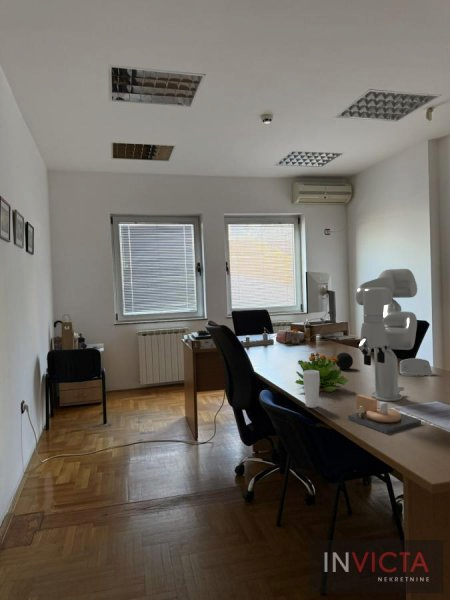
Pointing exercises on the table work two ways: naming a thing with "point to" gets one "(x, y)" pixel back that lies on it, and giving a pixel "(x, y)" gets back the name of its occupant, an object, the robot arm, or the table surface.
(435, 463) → the table surface
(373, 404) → the wooden lever dial
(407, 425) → the base plate
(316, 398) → the drinking glass
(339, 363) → the decorative ball
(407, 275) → the robot arm
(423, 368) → the white arched block
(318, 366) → the potted flower
